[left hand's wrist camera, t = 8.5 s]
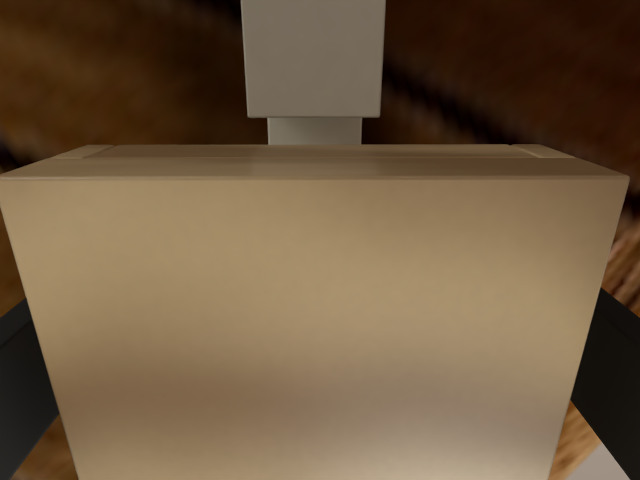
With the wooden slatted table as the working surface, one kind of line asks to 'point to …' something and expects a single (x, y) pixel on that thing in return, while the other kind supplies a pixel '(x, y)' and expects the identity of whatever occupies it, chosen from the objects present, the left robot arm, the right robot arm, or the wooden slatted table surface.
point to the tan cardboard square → (312, 305)
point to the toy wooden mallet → (313, 67)
